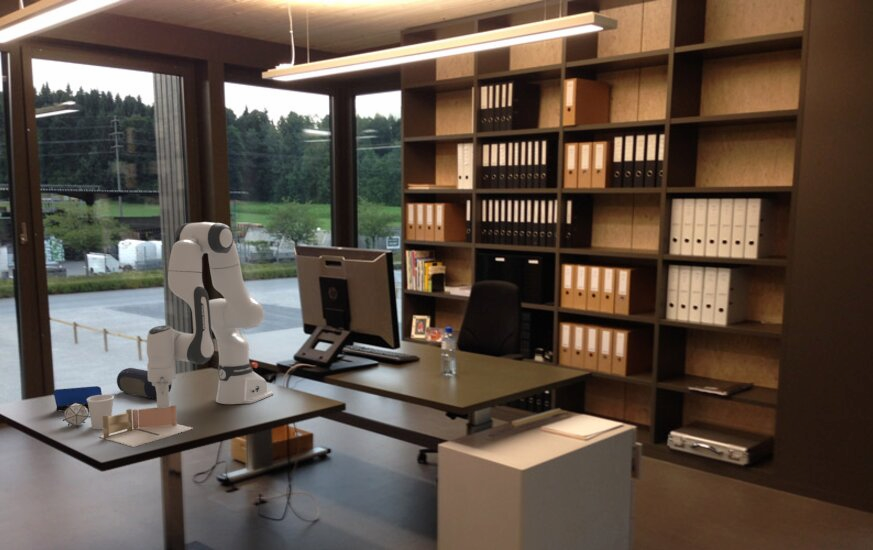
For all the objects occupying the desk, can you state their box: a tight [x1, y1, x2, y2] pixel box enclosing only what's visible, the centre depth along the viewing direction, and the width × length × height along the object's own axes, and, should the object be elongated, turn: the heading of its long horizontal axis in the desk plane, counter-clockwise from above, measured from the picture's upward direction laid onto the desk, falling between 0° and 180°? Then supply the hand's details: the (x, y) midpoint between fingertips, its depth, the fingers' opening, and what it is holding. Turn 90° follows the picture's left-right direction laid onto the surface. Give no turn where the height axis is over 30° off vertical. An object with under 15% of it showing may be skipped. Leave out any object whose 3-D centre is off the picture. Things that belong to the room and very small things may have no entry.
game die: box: [61, 401, 91, 429], centre depth 242 cm, size 9×8×10 cm
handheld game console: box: [53, 385, 103, 412], centre depth 265 cm, size 16×13×9 cm
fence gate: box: [132, 404, 178, 428], centre depth 240 cm, size 14×2×6 cm, turn 111°
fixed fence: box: [102, 408, 133, 440], centre depth 232 cm, size 10×2×7 cm, turn 147°
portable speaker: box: [116, 367, 173, 400], centre depth 282 cm, size 25×10×10 cm, turn 58°
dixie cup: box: [87, 394, 115, 430], centre depth 241 cm, size 8×8×10 cm
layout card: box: [99, 423, 194, 448], centre depth 235 cm, size 22×18×1 cm
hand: (163, 414), depth 243 cm, fingers closed
